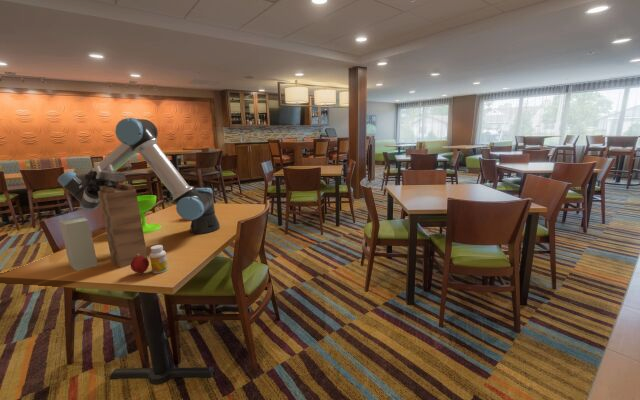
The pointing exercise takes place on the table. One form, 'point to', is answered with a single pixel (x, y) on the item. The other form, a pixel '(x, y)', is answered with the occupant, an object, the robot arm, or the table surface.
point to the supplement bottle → (158, 259)
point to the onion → (139, 264)
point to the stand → (122, 223)
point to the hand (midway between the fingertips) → (105, 168)
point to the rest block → (78, 243)
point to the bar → (112, 175)
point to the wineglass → (144, 205)
